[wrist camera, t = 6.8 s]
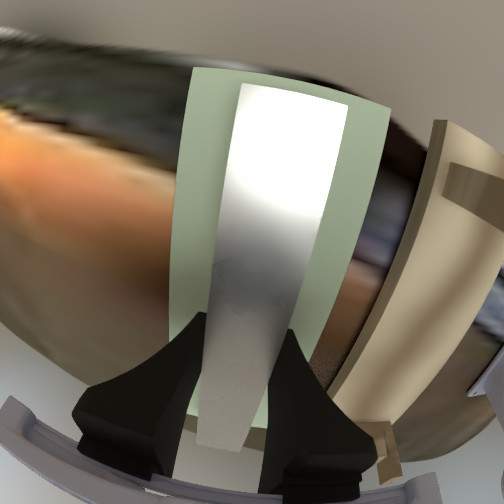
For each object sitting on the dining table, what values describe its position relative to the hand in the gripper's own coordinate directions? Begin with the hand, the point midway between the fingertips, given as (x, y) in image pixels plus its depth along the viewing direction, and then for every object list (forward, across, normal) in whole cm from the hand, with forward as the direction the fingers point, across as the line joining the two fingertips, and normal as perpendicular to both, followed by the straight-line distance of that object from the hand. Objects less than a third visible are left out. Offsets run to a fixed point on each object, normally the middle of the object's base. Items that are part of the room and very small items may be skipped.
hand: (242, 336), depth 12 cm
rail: (+1, 0, 0) cm, 1 cm away
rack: (+2, -10, 0) cm, 10 cm away
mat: (+2, 0, 0) cm, 2 cm away
